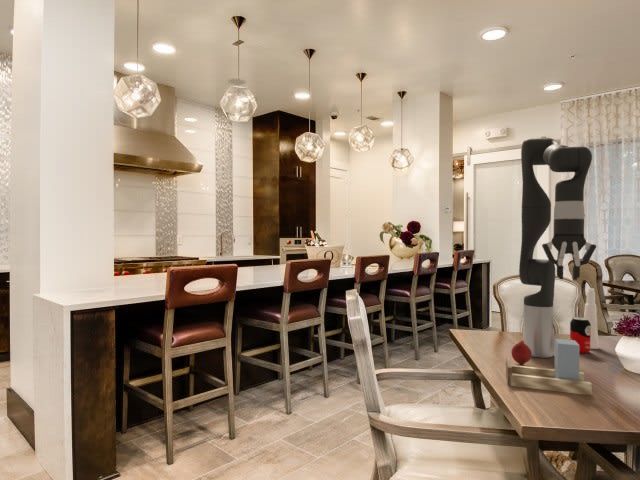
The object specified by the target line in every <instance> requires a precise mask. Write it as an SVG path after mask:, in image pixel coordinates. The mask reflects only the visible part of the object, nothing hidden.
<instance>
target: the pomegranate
mask: <svg viewBox="0 0 640 480" xmlns="http://www.w3.org/2000/svg"><path fill="white" fill-rule="evenodd" d="M510 353H511V357H512V359H513V360H514V361H515V362H516V363H517V364H519V366H523V365H524V366H525V364H526V363H528V362H529V361H530V360H531V359H532V357H533V356H532V353H531V350H530V348H529V347H528V346H527V345H526V344H525V343H524V340H523V339H520V341H519V342H517V343H516V344H515V345H514V346H513V347H512V348H511V352H510Z"/></svg>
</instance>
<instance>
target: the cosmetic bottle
mask: <svg viewBox="0 0 640 480" xmlns="http://www.w3.org/2000/svg"><path fill="white" fill-rule="evenodd" d="M585 302H586V303H585V304H584V313H583V314H584V316H583V318H588V319H589V322H590V324H591V335H590V350H599V349H600V348H601V347H600V343H599V334H598V313H597V312H598V311H597V310H598V309H597V304H596V291H595V288H589V287H588V288H587V291H586V301H585Z"/></svg>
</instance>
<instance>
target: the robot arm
mask: <svg viewBox="0 0 640 480" xmlns="http://www.w3.org/2000/svg"><path fill="white" fill-rule="evenodd" d="M520 153H521V154H520V158H521V159H520V161H521V175H522V177H521V179H522V180H521V181H522V192H521V193H522V195H521V247H520V255H519V268H518V274H519V275H518V277H519V280H520V283H521V284H523V285H528V286H537V287H539V286H540V290H539V291H538V292H535V293H532V294H528V295H525V296H524V297H523V325H522V326H523V330H522V331H523V334H522V335H523V336H522V340H524V343H525V344H526V345H527V346H528V347H529V348H530V350H531V353H532V356H531V357H534V358H542V359H544V358H552V357H553V356H555V334H556V333H555V327H554V300H555V282H556V277H558V279H559V280H564V263H563V262H564V258H565V255H566V254H567V255H568V254H569V255H570V254H571V258H572V263H573V265H572V280H573V281H578V279H579V278H580V275H581V273H580V271H581V269H580V268H581V266H583V265H587V264H588V263H589V261H590V259H591V258H592V256H593V254H594V252H595V250H596V248H597V245H596V244H592V243H590V242H588V241H587V239H586V238H585V217H586V214H585V205H584V204H585V203H584V196H585V195H584V194H585V191H584V190H585V184H586V179H587V176H588V173H589V170H590V167H591V164H592V160H593V154H592V151H591V150H590V148H588V147H586V146H567V145H564V144H560V143H559V142H558V141H557V140H556V139H554V138H549V137H541V138H526V139H524V140H523V142H522V144H521V150H520ZM534 166H548V167H549V169H550V171H552V172H553V173H574V175H573V176H572V178H570V179H565V180H561V181H559V182H557V183H555V187H554V188H555V189H554V192H555V193H554V206H553V207H554V208H553V236H552V238H551V240H550V241H548V242H546V243H543V244H541V247H542V249H543V251H544V253H545V255H546V257H547V259H540V258H533V257H534V252H535V248H536V246H537V244H538V243H539V242H538V241H540V238H541V237H542V236H543V234H544V233H545V231H547V229H548V227H549V226H550V224H551V221H552V202H551V200H550V197H549V196H548V194H547V193H546V192H545V190H544V189H543V187H542V186H541V184H540V183H539V181H538V180H537V178H536V175H535V172H534ZM584 246H585V248H584ZM553 247H554V248H555V249H556V250H557V258H556V259H555V257H554V256H553V253H552V251H551V250H552V248H553ZM583 248H584V250H585V253H584V255H583V256H582V258H581V260H580V255H579V254H580V253H579V252H580V251H581V250H582V249H583Z"/></svg>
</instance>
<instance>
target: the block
mask: <svg viewBox="0 0 640 480" xmlns="http://www.w3.org/2000/svg"><path fill="white" fill-rule="evenodd" d="M579 348H580V345H579V344H578V343H577V342H576V341H575V340H570V339H561V338H554V366H553V367H554V368H553V369H554V378H558V379H567V380H576V381H579V372H580V353H579Z"/></svg>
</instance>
